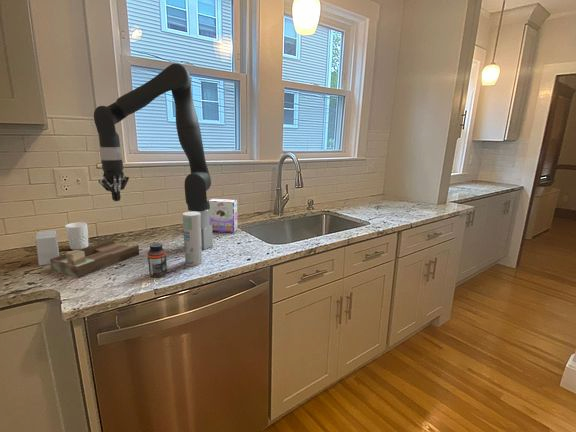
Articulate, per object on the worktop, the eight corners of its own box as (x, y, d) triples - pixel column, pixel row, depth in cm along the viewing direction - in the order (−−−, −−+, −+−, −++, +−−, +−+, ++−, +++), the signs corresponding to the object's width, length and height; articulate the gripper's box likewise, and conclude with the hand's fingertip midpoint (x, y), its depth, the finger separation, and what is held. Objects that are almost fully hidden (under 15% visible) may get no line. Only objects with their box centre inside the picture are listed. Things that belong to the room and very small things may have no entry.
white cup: (94, 245, 139) (91, 223, 136) (77, 251, 132) (74, 228, 129) (81, 242, 141) (78, 221, 139) (63, 248, 134) (60, 226, 132)
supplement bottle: (152, 270, 116) (150, 241, 113) (169, 270, 116) (167, 241, 113) (146, 278, 110) (144, 247, 107) (164, 277, 110) (162, 247, 108)
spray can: (205, 263, 124) (203, 213, 119) (190, 267, 119) (187, 216, 114) (197, 258, 128) (194, 210, 123) (182, 262, 124) (179, 213, 119)
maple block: (85, 261, 115) (84, 251, 114) (74, 265, 112) (73, 255, 111) (78, 259, 117) (77, 249, 116) (67, 263, 114) (65, 253, 113)
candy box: (237, 230, 167) (237, 199, 163) (234, 233, 162) (233, 201, 158) (213, 228, 170) (212, 197, 165) (208, 231, 164) (207, 200, 160)
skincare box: (60, 262, 120) (56, 236, 118) (38, 266, 117) (34, 239, 114) (60, 253, 128) (56, 229, 126) (40, 257, 125) (35, 231, 122)
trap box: (139, 254, 130) (138, 245, 129) (78, 278, 108) (76, 267, 107) (114, 248, 136) (113, 239, 135) (51, 269, 114) (50, 259, 113)
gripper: (103, 160, 120) (109, 204, 124) (132, 158, 132) (136, 198, 136) (89, 159, 123) (95, 202, 127) (119, 157, 134) (123, 197, 139)
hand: (116, 200), depth 131 cm, fingers closed
